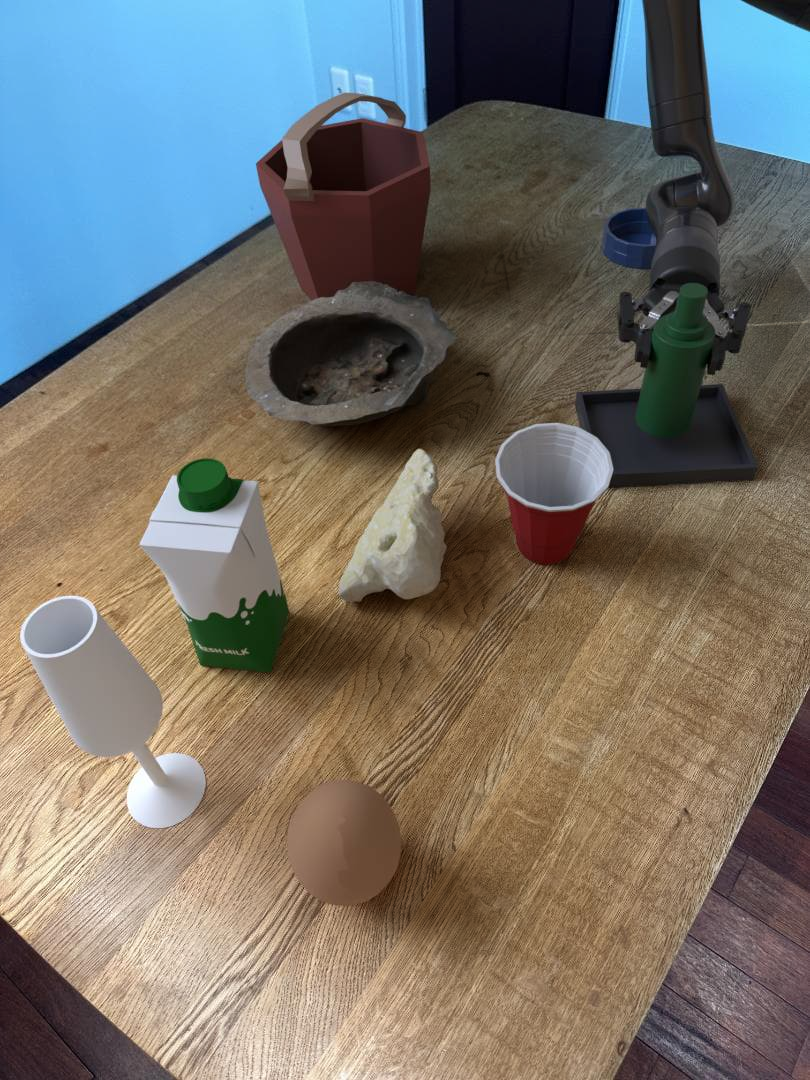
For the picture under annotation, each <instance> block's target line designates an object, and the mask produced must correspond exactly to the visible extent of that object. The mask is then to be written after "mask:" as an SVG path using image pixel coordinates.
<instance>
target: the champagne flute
mask: <svg viewBox="0 0 810 1080" xmlns="http://www.w3.org/2000/svg"><path fill="white" fill-rule="evenodd" d="M19 633H20V634H19V640H20V645H22V648H23V650H24V651H25V653H26V656H27V657H28V659H29V661H30V663H31V665H32V667H33V668H34V670H35V672H36V674H37V676H38V678H39V679H40V681H41V683H42V686H43V687H44V689H45V691H46V692H47V695H48V696H49V698H50V701H51V702H52V704H53V707H54V708H55V709H56V711H57V713H58V716H59V717H60V719H61V721H62V723H63V724H64V727H65V729H66V730H67V732H68V734H69V736H70V738H71V739H72V741H73V743H74V744H75V745H76V746H77V747H78V748H79V749H80V750H82V751H84V753H86V754H89V755H92V756H94V757H99V758H115V757H120V756H124V755H128V754H130V753H132V754H133V756H134V757H135V759H136V760H137V762H138V763H139V765H140V766H141V767H140V768H139V769H138V770H137V771H136V773H135V774H134V776H132V778H131V781H130V783H129V785H128V788H127V792H126V805H127V809H128V812H129V814H130V815H131V817H132V818H133V819H134V821H136V822H137V823H138V824H139V825H141V826H144V827H147V828H149V829H150V828H151V829H166V828H169V827H173V826H175V825H177V824H180V823H181V822H183V821H184V820H186V819H187V818H189V816H191V815H192V814H193V813H194V812H195V811H196V809H197V808H198V807H199V805H200V804H201V802H202V800H203V798H204V795H205V791H206V786H207V785H206V784H207V780H206V775H205V771H204V769H203V767H202V765H201V764H200V762H198V761H197V760H196V759H195V758H193V757H192V756H191V755H187V754H184V753H181V752H180V753H179V752H171V753H165V754H161V755H158V756H155V755H154V753H152V750H151V749H150V748H149V746H148V744H147V742H148V741H149V740H150V738H151V737H153V735H154V733H155V732H156V730H157V728H158V727H159V724H160V722H161V719H162V716H163V710H164V702H163V696H162V692H161V690H160V689H159V687H158V685H157V683H155V681H154V680H153V678H152V677H151V676H150V675H149V674H148V672H147V670H145V669H144V667H143V666H142V665H141V663H140V662H139V661H138V660H137V658H136V657H135V656H134V655H133V653H132V652H131V651H130V649H129V648H128V647H127V646H126V644H125V643H124V642H123V640H122V639H121V638H120V637H119V636H118V634H117V633H116V632H115V630H114V629H113V628H112V627H111V625H110V624H109V623H108V622H107V620H106V619H105V618H104V616H103V615H102V614H101V613H100V611H99V610H98V609H97V607H96V606H95V605H94V604H93V603H92V602H91V601H90V600H89V599H87V598H85V597H82V596H80V595H62V596H58V597H55V598H52V599H49V600H46V601H45V602H43V603H42V604H40V605H39V606H37V607H36V608H35V609H34V610H32V612H30V614H29V615H28V616H27V617H26V619H25V620H24V622H23V623H22V626H21V628H20V632H19Z"/></svg>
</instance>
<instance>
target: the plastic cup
mask: <svg viewBox="0 0 810 1080" xmlns="http://www.w3.org/2000/svg"><path fill="white" fill-rule="evenodd" d="M494 464H495V472H496V478H497V480H498V482H499V484H501V486H502V487H503V490H504V491H505V496H506V497H507V502H508V507H509V513H510V518H511V522H512V523H511V524H512V530H513V532H514V536H515V542H516V546H517V548H518V550H519V552H520V554H521V555H522V556H523V557H524V558H525V559H526V560H528V561H530V562H532V563H534V564H538V565H542V566H546V565H547V566H548V565H556V564H559V563H561V562H564V561H565V560H566V559H567V558H568V557H569V556H570V555H571V554H572V552H573V551H574V549H575V547H576V544H577V541H578V538H579V537H580V536H581V533H582V531H583V529H584V527H585V525H586V522H587V520H588V517H589V515H590V513H591V511H592V508H593V505H594V504H595V503H596V501H597V499H598V498H599V497H600V496H601V495H602V494H603V493H604V492H605V491H606V490H607V489H608V488H609V487H608V486H609V483H610V479H611V476H612V473H613V470H614V469H613V465H612V461H611V456H610V452H609V451H608V450H607V449H606V448H605V446H604V445H603V444H602V443H601V441H600V440H599V439H598V438H597V437H595V436H593V435H592V434H590V433H588V432H586V431H585V430H583V429H581V428H580V426H575V425H570V424H565V423H561V422H549V423H548V422H547V423H535V424H531V425H529V426H527V427H524V428H521V429H519V430H517V431H514V433H512V434H511V435H510V436H509V437H508V438H506V440H504V441H503V442H502V443H501V444H500V446H499V449H498V452H497V454H496V457H495V458H494Z"/></svg>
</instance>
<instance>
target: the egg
mask: <svg viewBox="0 0 810 1080" xmlns="http://www.w3.org/2000/svg"><path fill="white" fill-rule="evenodd" d="M286 835H287V836H286V838H287V839H286V846H287V857H288V860H289V862H290V866H291V869H292V871H293V875H294V876H295V878H296V879H297V880H298V882H299V884H300V885H301V886H302V887H303V888H304V890H306V892H307V893H309V895H310V896H312V897H314V898H316V899H317V900H319V901H321V902H323V903H326V904H328V905H331V906H338V907H349V906H355V905H360V904H363V903H365V902H368V901H370V900H371V899H372V898H374V897H376V896H378V895H379V894H380V893H381V892H382V891H383V889H385V888H386V886H387V885H388V884H389V883H390V881H391V880H392V879H393V877H394V875H395V873H396V872H397V869H398V866H399V862H400V859H401V855H402V837H401V829H400V825H399V822H398V819H397V815H396V813H395V812H394V810H393V809H392V807H391V805H390V803H389V802H388V801H387V800H386V799H385V797H384V796H383V795H382V793H380V792H379V791H377V790H376V789H374V788H373V787H371V786H370V785H367V784H366V783H363V782H359V781H358V780H357V781H356V780H350V779H349V780H348V779H336V780H330V781H327V782H323V783H322V784H320V785H319V786H316V787H315V788H313V789H312V790H311V791H310V792H308V794H307V795H305V797H303V798H302V800H301V801H300V802H299V803H298V805H297V807H296V808H295V810H294V811H293V813H292V815H291V818H290V821H289V825H288V829H287V833H286Z"/></svg>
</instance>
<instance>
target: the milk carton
mask: <svg viewBox="0 0 810 1080" xmlns="http://www.w3.org/2000/svg"><path fill="white" fill-rule="evenodd" d="M262 501H263V500H262V496H261V490H260V484H259V481H256V480H244V479H243V478H232V477H230V476H229V474H228V470H227V467H226V465H225V464H224V463H222V461H220V460H218V459H215V458H209V457H203V458H198V459H195V460H192V461H190V462H188V463H186V464H185V465H183V466H182V467H181V468H180V470H179V471H178V473H177V475H174V474H173V475H171V478H170V479H169V481H168V483H167V485H166V487H165V489H164V491H163V493H162V495H161V497H160V499H159V501H158V502H157V504H156V506H155V509H154V510H153V511H152V513H151V515H150V517H149V520H148V521H149V523H148V525H147V528H146V530H145V532H144V534H143V536H142V538H141V540H140V542H139V547H140V548H141V549H142V551H144V552H145V553H146V555H147V556H148V557H149V558H150V559H151V560H152V561H153V562H154V564H155V565H156V566H157V568H159V569H160V571H161V572H162V573H163V575H164V577H165V580H166V581H167V584H168V585H169V588H170V590H171V593H172V594H173V596H174V599H175V601H176V603H177V605H178V608H179V610H180V613H181V615H182V617H183V619H184V621H185V623H186V626H187V629H188V632H189V635H190V638H191V642H192V645H193V647H194V650H195V654H196V656H197V660H198V663H199V665H200V666H201V667H210V668H211V667H212V668H221V669H228V670H229V669H230V670H239V671H248V672H249V671H251V672H257V673H258V672H259V673H267V674H271V673H272V671H273V667H274V664H275V660H276V658H277V653H278V651H279V647H280V644H281V642H282V638H283V634H284V631H285V628H286V626H287V625H286V624H287V622H288V619H289V615H290V609H289V604H288V601H287V597H286V593H285V590H284V586H283V581H282V578H281V575H280V571H279V568H278V564H277V561H276V557H275V553H274V550H273V546H272V543H271V539H270V535H269V532H268V528H267V523H266V518H265V512H264V507H263V502H262Z"/></svg>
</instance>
